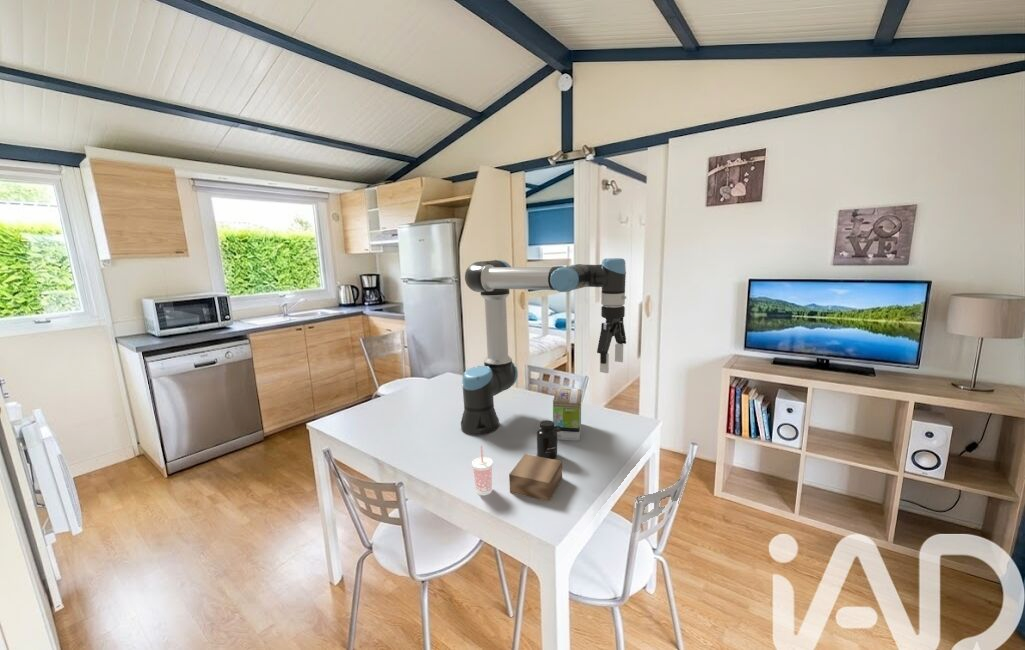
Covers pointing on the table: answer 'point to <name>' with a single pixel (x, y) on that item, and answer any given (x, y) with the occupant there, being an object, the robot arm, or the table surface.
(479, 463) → the beverage cup
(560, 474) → the walnut block
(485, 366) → the robot arm
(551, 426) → the supplement bottle
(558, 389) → the tea box
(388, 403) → the table surface
